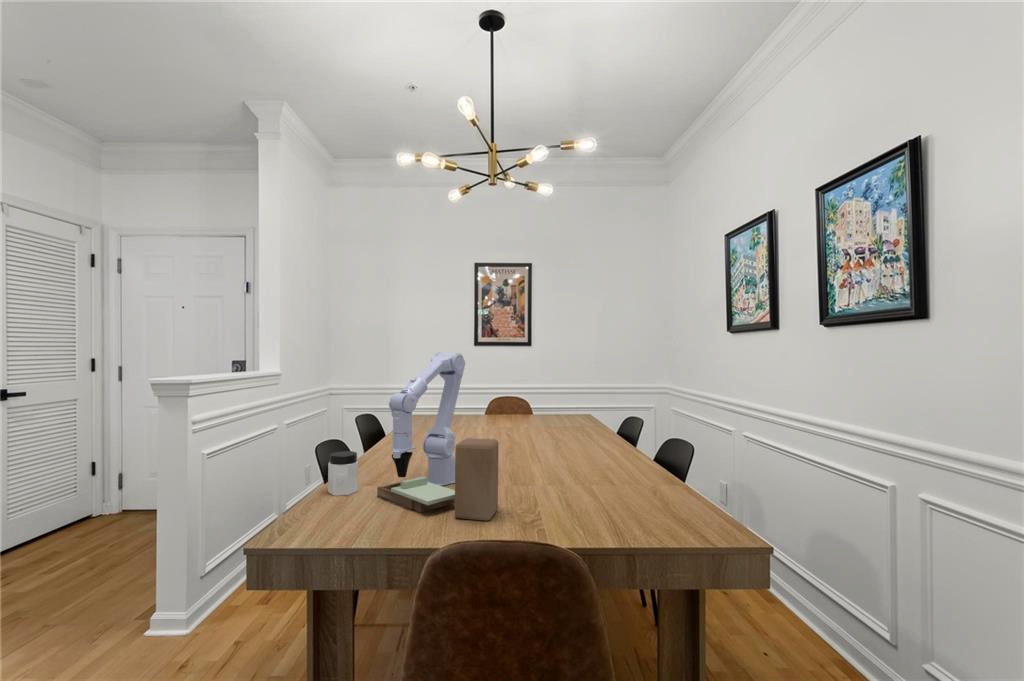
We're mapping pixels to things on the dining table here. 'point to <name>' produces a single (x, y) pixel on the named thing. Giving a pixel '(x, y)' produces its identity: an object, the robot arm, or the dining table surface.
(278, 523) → the dining table surface
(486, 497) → the block
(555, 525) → the dining table surface
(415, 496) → the lid
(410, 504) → the brown wooden tray
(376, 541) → the dining table surface
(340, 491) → the jar
